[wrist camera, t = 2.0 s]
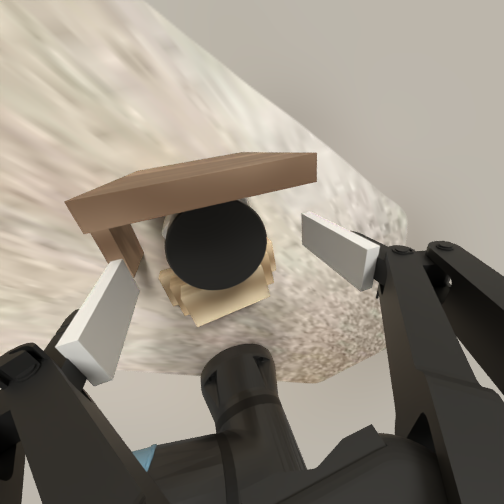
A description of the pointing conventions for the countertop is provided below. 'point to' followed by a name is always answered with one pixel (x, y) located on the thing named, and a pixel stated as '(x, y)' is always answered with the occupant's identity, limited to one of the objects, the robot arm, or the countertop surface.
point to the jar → (215, 244)
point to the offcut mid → (177, 283)
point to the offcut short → (224, 298)
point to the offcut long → (168, 273)
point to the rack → (181, 194)
